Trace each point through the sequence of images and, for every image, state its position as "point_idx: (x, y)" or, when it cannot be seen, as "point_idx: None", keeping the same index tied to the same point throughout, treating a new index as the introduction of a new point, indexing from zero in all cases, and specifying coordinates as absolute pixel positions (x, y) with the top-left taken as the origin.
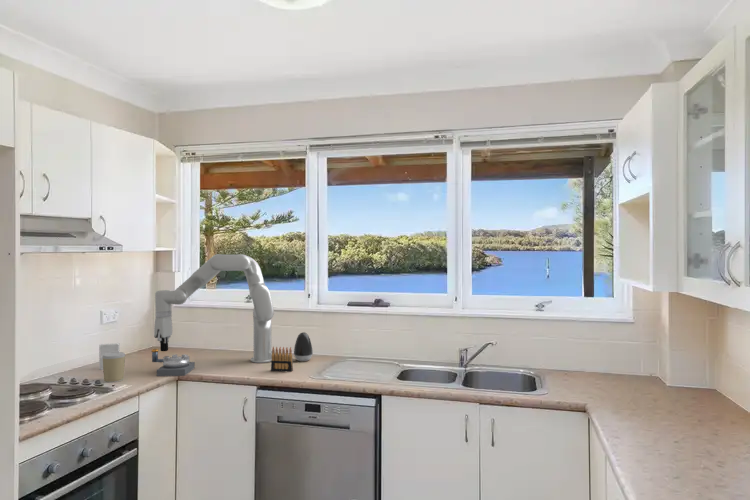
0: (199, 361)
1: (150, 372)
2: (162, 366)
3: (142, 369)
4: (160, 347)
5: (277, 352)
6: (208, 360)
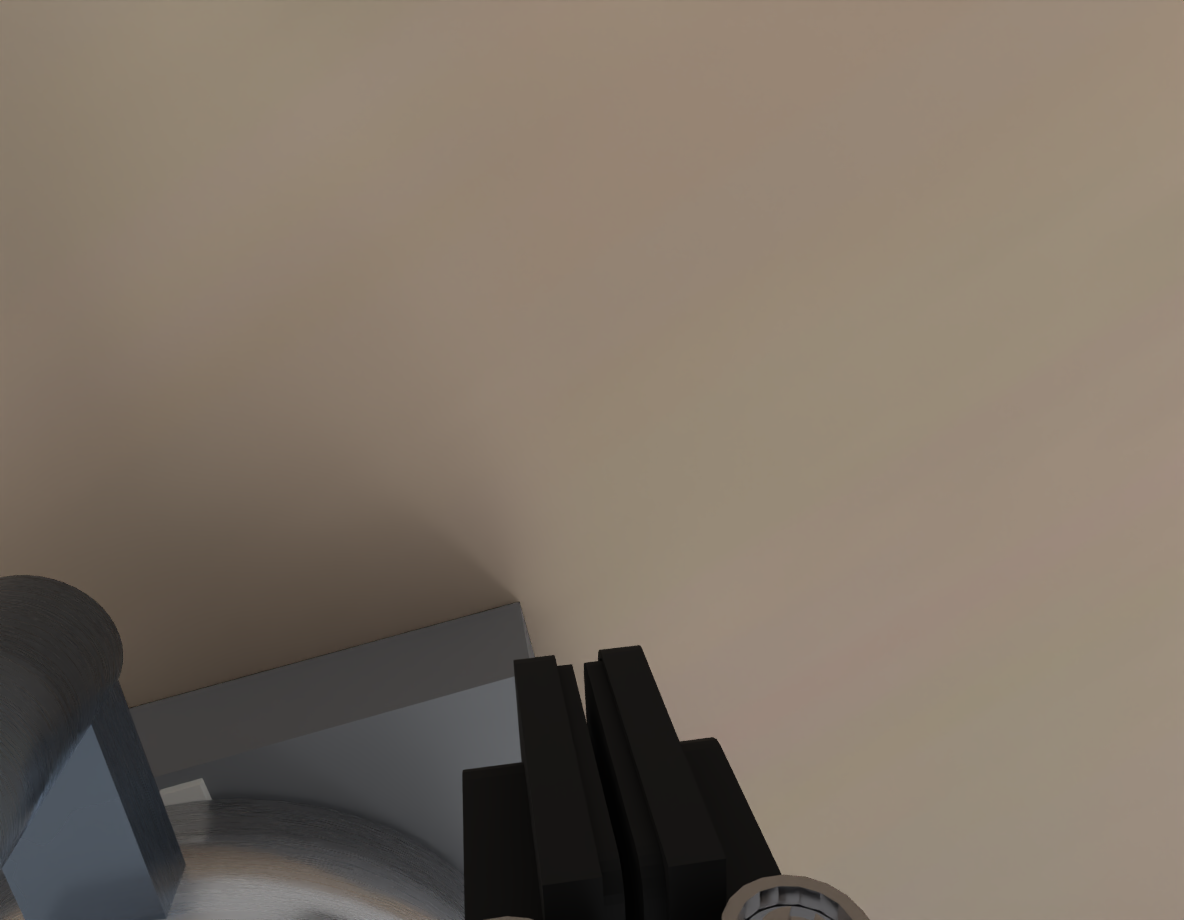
0: (1113, 816)
1: (47, 465)
2: None
3: (269, 56)
4: (523, 735)
5: None
6: (1181, 905)
